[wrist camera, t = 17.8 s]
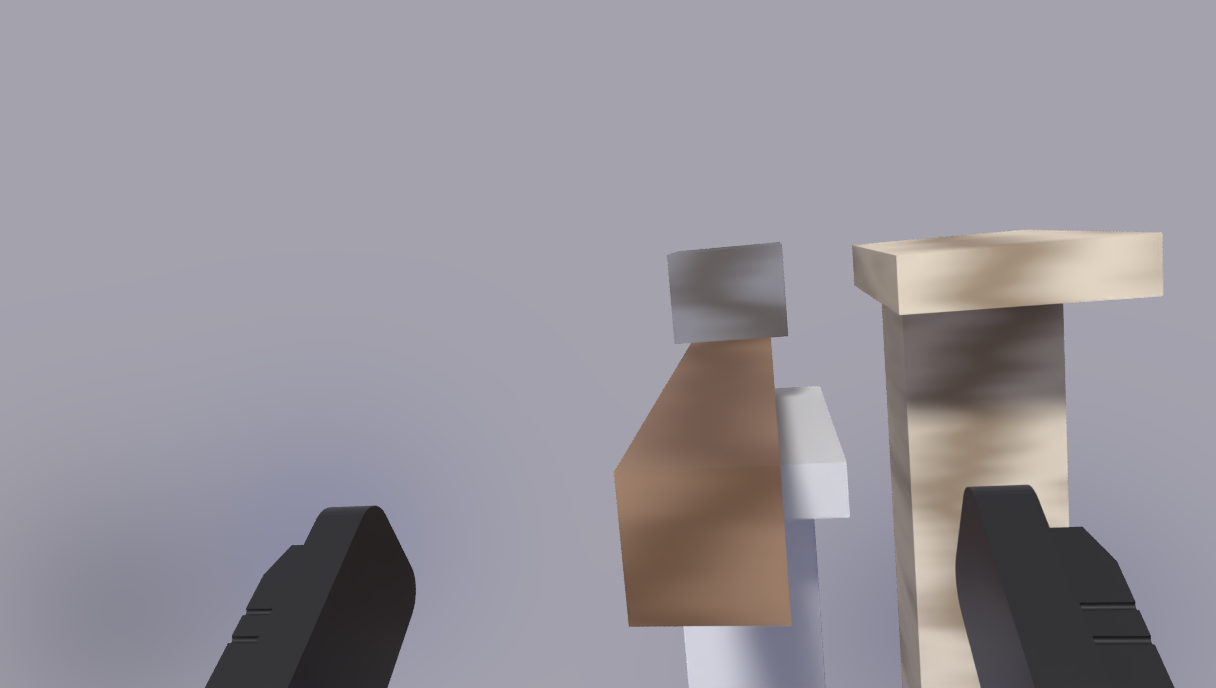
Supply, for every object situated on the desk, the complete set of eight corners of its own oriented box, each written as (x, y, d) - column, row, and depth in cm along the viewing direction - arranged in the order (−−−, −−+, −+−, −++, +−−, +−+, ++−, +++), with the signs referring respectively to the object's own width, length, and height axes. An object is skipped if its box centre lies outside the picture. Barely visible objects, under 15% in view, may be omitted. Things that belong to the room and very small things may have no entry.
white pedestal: (862, 816, 45) (835, 384, 42) (905, 1070, 32) (870, 461, 29) (687, 810, 47) (649, 395, 44) (656, 1047, 34) (599, 472, 31)
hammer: (789, 391, 42) (779, 242, 41) (828, 625, 17) (804, 268, 17) (690, 397, 43) (678, 251, 42) (595, 626, 18) (560, 289, 17)
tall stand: (1060, 824, 43) (1043, 228, 40) (1197, 1098, 30) (1190, 230, 26) (870, 817, 45) (835, 246, 41) (916, 1071, 32) (871, 257, 28)
